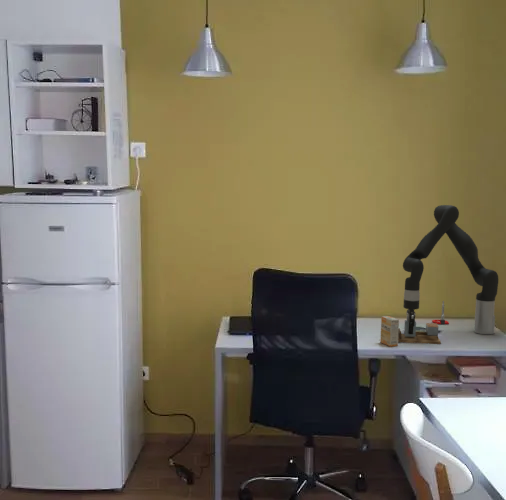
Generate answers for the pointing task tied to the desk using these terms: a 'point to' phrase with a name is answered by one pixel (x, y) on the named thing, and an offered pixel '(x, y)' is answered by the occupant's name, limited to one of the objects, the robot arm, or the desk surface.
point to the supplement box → (389, 331)
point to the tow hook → (441, 317)
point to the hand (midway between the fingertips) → (410, 332)
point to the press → (418, 338)
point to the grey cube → (431, 329)
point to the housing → (408, 329)
